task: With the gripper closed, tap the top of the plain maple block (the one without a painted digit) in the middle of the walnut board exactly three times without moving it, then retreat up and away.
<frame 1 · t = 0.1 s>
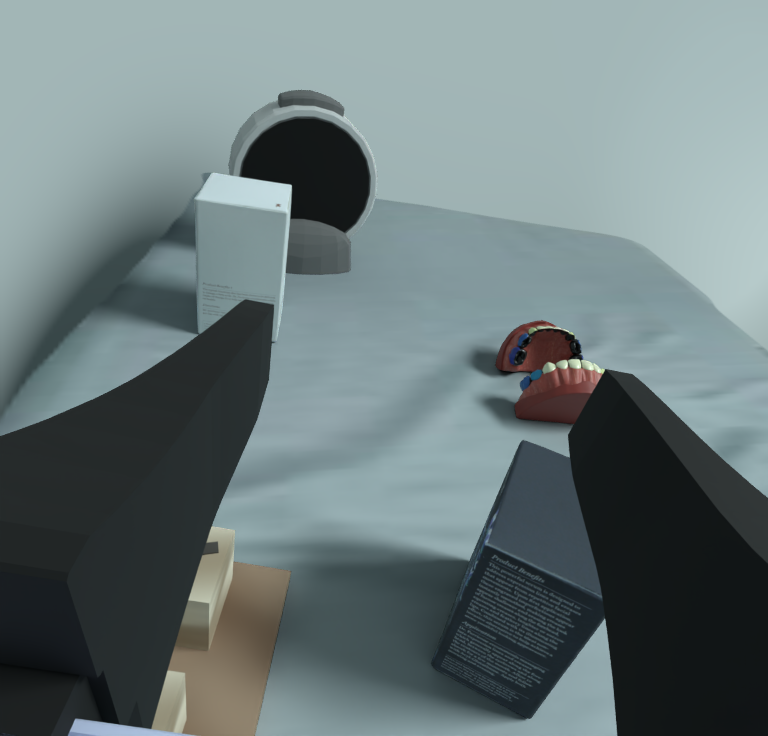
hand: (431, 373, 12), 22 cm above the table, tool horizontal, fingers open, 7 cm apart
supplement box: (242, 321, 53), on the table
box: (494, 633, 31), on the table
alarm clock: (295, 256, 67), on the table
block seven: (181, 606, 28), point 1 cm above the table, touching walnut board
teeth model: (544, 397, 52), on the table
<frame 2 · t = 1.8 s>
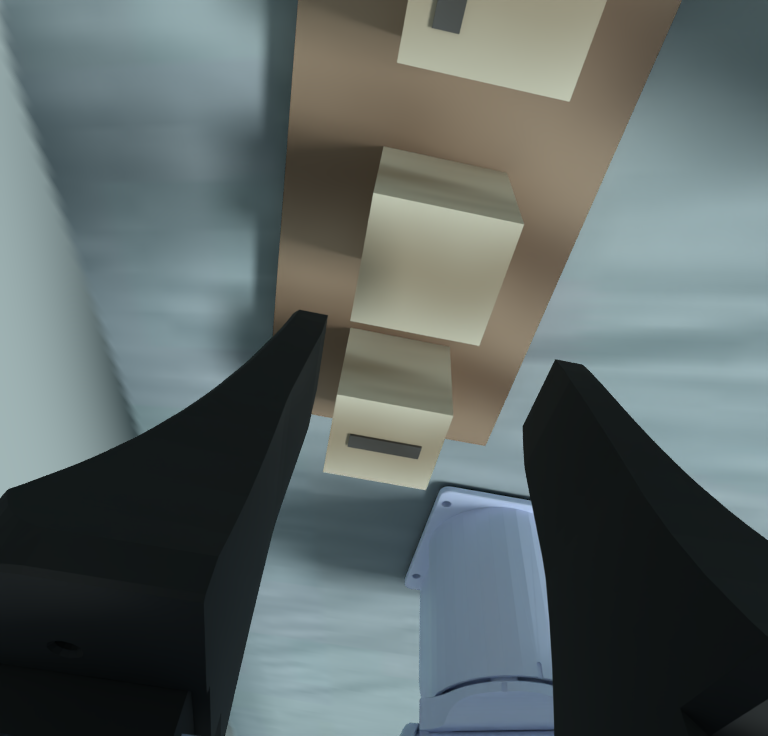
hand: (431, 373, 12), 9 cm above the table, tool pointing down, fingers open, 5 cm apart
block one: (390, 375, 23), point 1 cm above the table, touching walnut board
walnut board: (430, 207, 19), on the table
plain block: (430, 218, 19), point 1 cm above the table, touching walnut board
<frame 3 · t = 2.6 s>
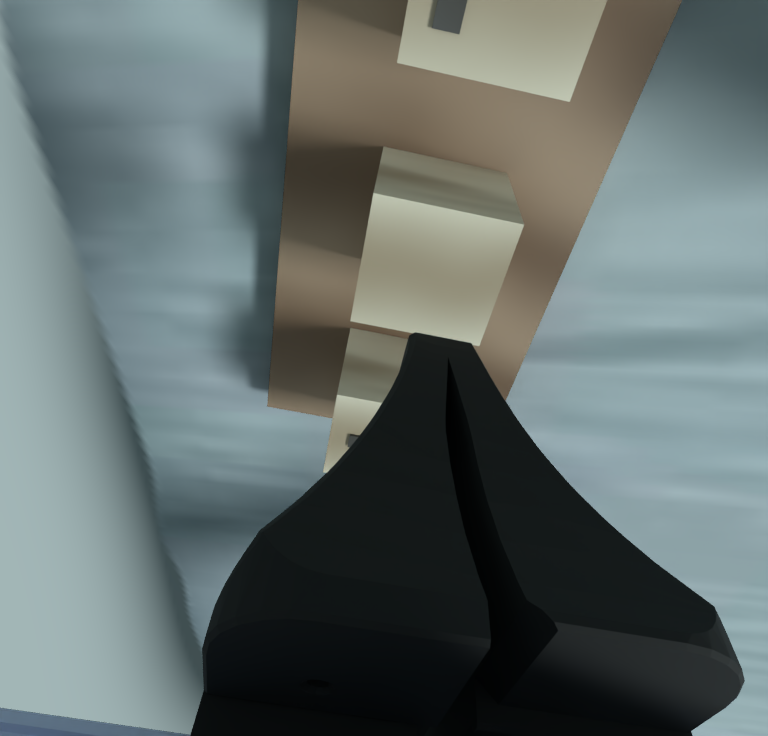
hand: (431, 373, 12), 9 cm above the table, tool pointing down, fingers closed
block one: (390, 376, 23), point 1 cm above the table, touching walnut board
walnut board: (430, 207, 19), on the table
plain block: (430, 219, 19), point 1 cm above the table, touching walnut board
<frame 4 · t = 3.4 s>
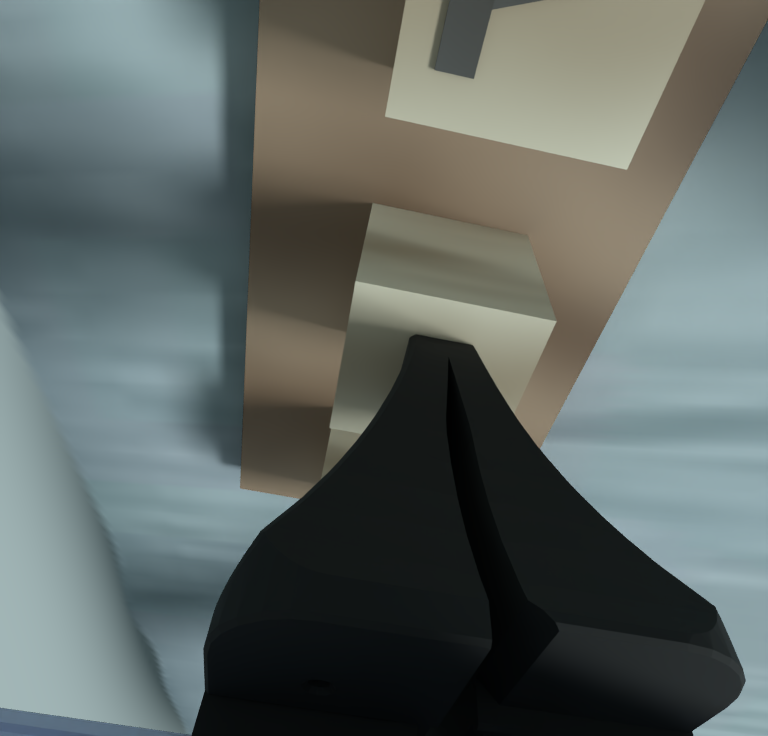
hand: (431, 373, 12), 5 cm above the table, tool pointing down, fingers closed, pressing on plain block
block one: (384, 458, 19), point 1 cm above the table, touching walnut board
walnut board: (431, 270, 16), on the table
plain block: (431, 287, 15), point 1 cm above the table, touching gripper, walnut board
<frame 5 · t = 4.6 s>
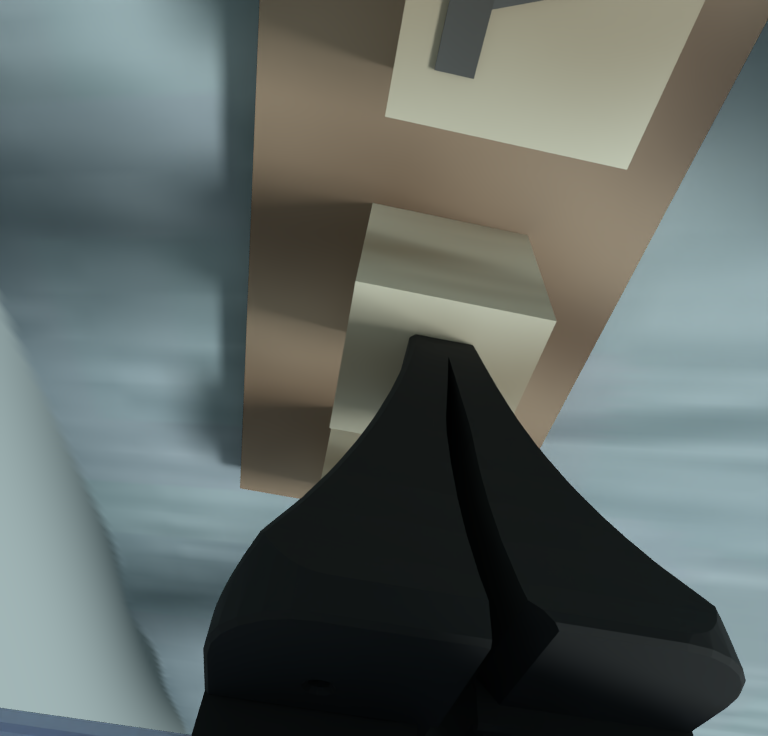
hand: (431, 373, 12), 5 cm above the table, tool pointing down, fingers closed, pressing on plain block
block one: (384, 458, 19), point 1 cm above the table, touching walnut board
walnut board: (431, 270, 16), on the table
plain block: (431, 287, 15), point 1 cm above the table, touching gripper, walnut board
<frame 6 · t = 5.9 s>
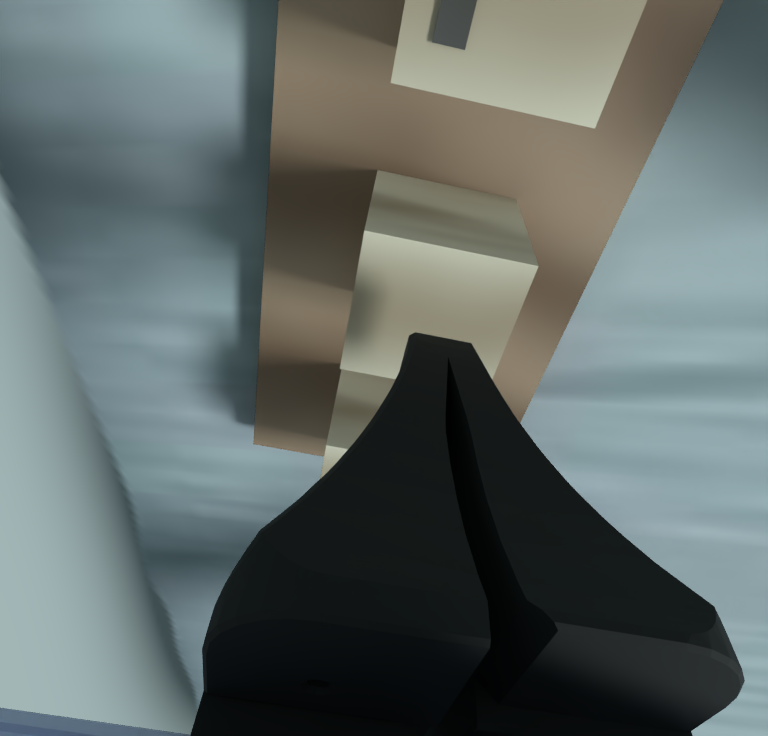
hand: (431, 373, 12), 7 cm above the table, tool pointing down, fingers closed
block one: (386, 413, 21), point 1 cm above the table, touching walnut board
walnut board: (430, 234, 17), on the table
plain block: (430, 248, 17), point 1 cm above the table, touching walnut board
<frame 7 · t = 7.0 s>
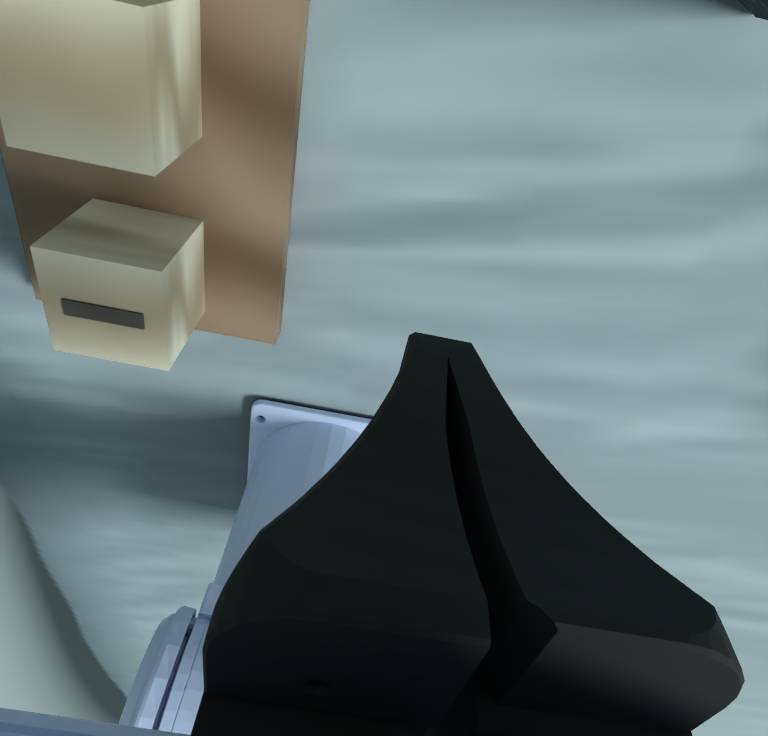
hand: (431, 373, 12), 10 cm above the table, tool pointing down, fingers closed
block one: (152, 258, 21), point 1 cm above the table, touching walnut board
walnut board: (149, 51, 18), on the table
plain block: (136, 56, 17), point 1 cm above the table, touching walnut board
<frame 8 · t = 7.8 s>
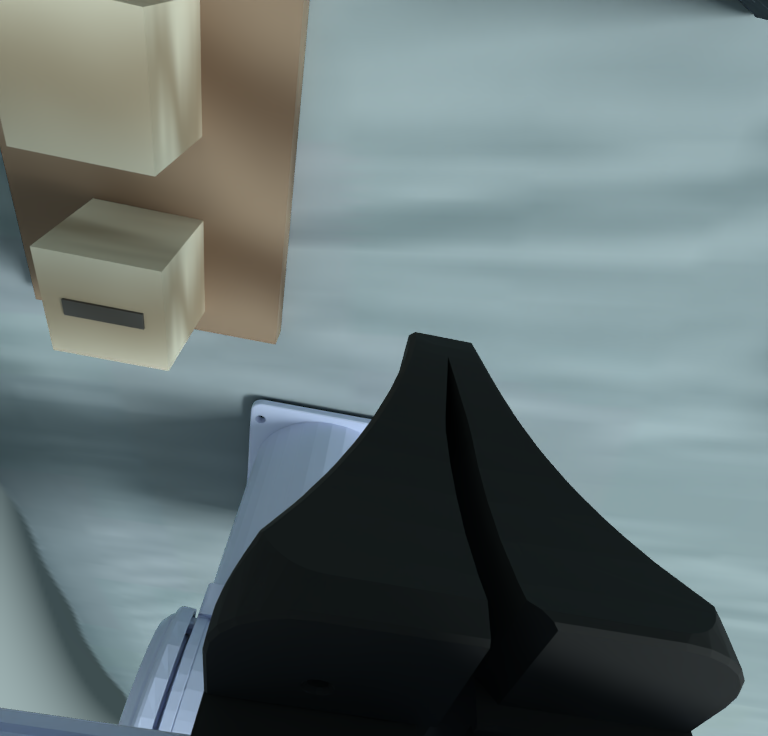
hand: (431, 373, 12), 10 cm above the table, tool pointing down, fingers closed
block one: (152, 258, 21), point 1 cm above the table, touching walnut board
walnut board: (149, 51, 18), on the table
plain block: (136, 56, 17), point 1 cm above the table, touching walnut board
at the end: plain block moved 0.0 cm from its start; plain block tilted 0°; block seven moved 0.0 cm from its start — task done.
